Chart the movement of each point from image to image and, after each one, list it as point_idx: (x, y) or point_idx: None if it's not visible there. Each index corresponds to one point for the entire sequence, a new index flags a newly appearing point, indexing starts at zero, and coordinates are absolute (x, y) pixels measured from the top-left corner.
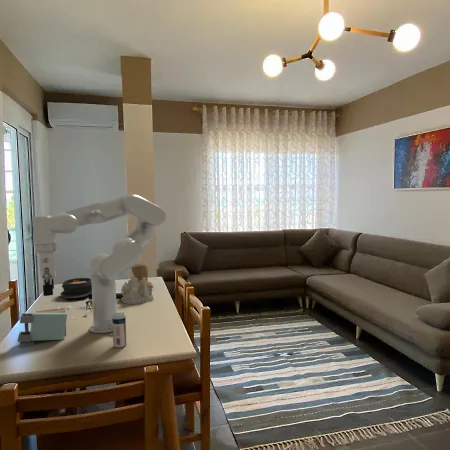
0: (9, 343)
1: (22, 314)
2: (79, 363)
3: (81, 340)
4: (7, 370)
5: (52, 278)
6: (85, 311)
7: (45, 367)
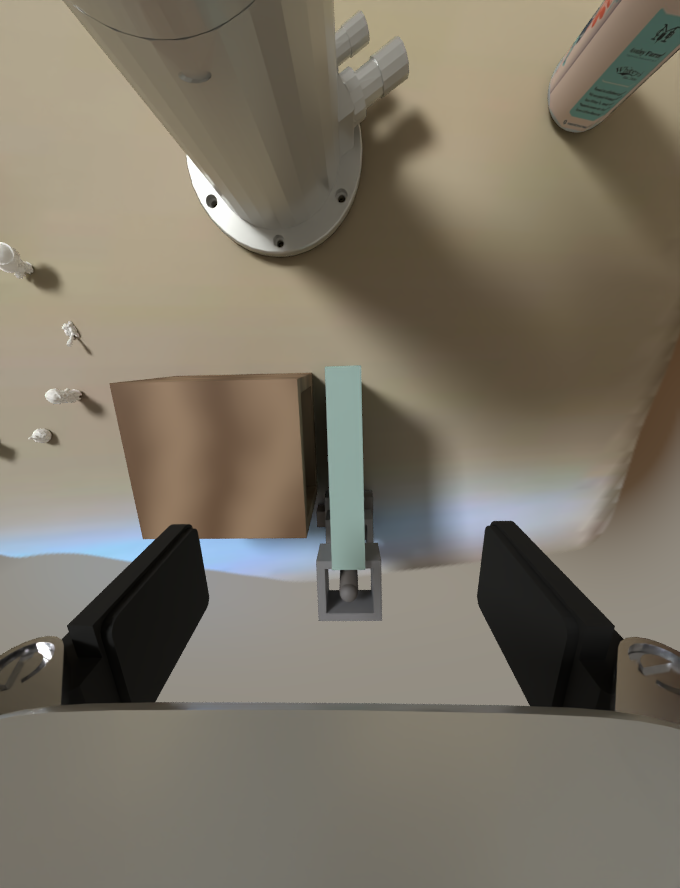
0: (310, 567)
1: (341, 615)
2: (659, 313)
3: (403, 302)
4: (557, 545)
5: (63, 642)
6: (7, 267)
7: (611, 436)
